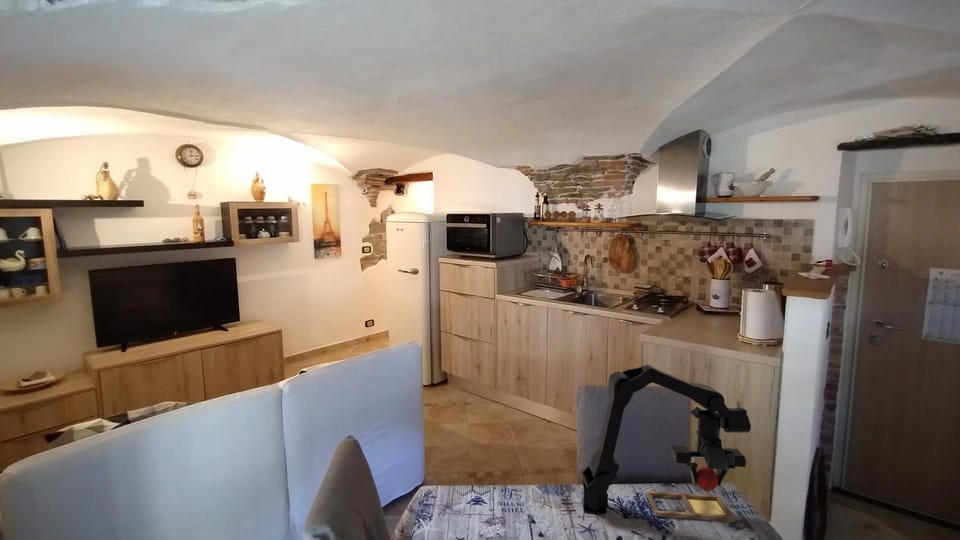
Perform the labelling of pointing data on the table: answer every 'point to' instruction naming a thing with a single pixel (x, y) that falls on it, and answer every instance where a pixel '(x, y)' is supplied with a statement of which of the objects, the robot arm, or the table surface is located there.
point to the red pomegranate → (707, 479)
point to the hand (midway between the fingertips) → (706, 484)
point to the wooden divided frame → (694, 506)
